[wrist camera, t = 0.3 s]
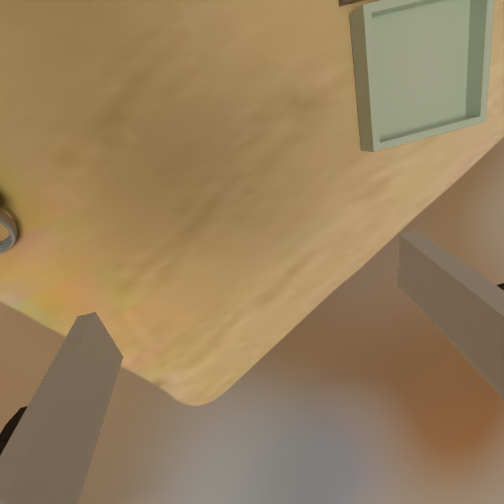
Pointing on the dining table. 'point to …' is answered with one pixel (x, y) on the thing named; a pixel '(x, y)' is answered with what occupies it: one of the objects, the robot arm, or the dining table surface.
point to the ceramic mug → (13, 231)
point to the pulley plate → (347, 2)
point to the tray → (420, 68)
